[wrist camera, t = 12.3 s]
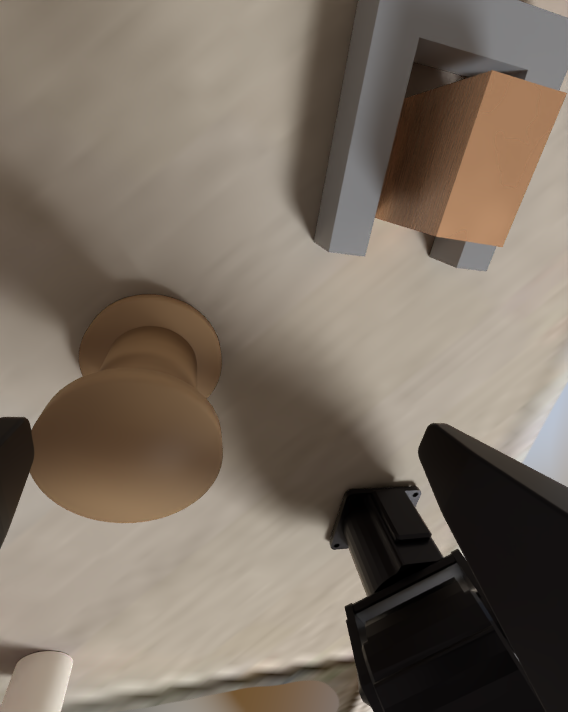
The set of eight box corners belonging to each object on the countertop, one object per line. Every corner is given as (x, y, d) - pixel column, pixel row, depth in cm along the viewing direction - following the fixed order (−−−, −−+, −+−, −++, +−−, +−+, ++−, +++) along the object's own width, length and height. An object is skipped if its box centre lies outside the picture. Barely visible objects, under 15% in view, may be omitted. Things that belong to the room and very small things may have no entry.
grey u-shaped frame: (456, 260, 21) (486, 271, 18) (313, 241, 18) (328, 251, 16) (534, 42, 16) (585, 24, 14) (360, -14, 14) (389, -46, 12)
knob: (216, 409, 22) (223, 521, 15) (90, 408, 20) (32, 534, 13) (225, 300, 19) (239, 378, 12) (78, 288, 17) (-5, 371, 10)
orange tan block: (421, 224, 19) (502, 247, 14) (370, 216, 18) (436, 236, 13) (455, 114, 17) (566, 93, 12) (399, 99, 16) (492, 70, 11)
